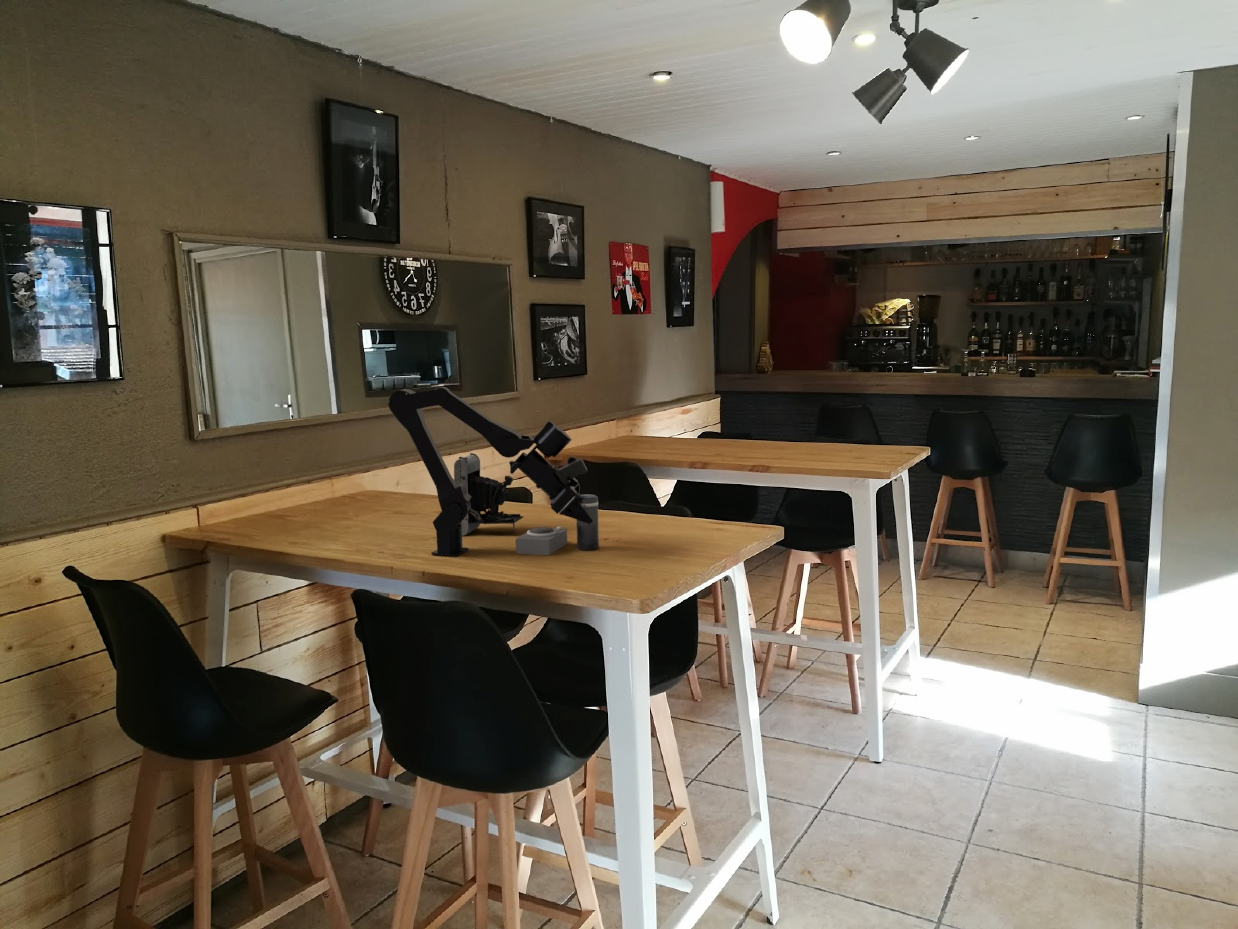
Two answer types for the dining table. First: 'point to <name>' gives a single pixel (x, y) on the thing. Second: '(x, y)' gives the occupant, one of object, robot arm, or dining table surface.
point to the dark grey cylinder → (585, 531)
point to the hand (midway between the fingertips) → (591, 518)
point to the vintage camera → (482, 495)
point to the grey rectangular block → (541, 541)
